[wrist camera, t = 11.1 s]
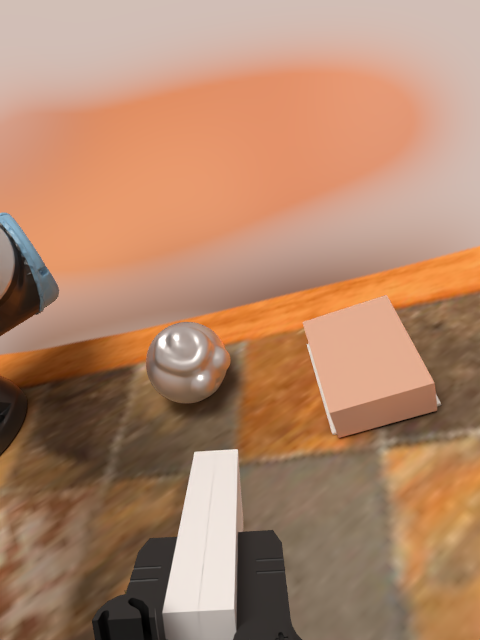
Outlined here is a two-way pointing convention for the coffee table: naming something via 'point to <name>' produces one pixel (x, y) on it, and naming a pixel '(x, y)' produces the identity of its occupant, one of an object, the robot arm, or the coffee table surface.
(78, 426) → the coffee table surface
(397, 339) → the peach rectangular block
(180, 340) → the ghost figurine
